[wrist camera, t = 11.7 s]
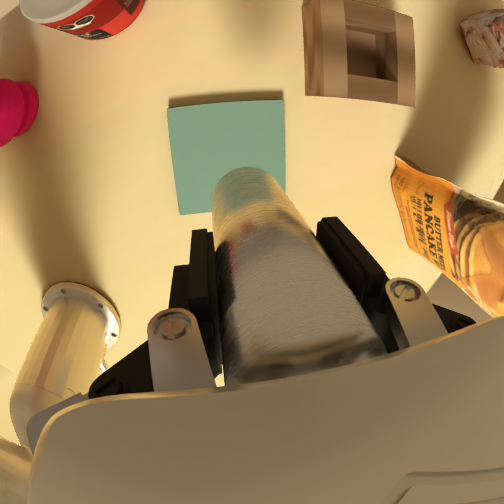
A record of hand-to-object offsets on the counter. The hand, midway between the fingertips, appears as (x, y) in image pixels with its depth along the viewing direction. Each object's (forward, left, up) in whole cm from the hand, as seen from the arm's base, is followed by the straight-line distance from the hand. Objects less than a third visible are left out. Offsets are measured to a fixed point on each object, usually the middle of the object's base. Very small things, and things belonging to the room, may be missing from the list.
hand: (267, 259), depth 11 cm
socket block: (+11, -13, -20) cm, 26 cm away
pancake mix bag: (-7, -24, -20) cm, 32 cm away
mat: (0, 0, -20) cm, 20 cm away
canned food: (+18, +11, -20) cm, 29 cm away
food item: (+21, -36, -20) cm, 46 cm away
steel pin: (0, 0, -6) cm, 6 cm away
